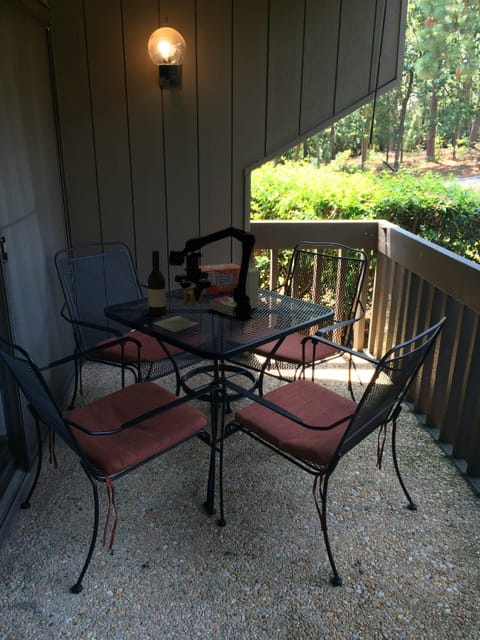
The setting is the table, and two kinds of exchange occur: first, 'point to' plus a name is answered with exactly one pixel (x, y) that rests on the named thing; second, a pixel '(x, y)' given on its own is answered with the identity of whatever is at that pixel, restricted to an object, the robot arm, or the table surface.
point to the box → (220, 278)
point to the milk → (252, 285)
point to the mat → (175, 323)
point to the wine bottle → (156, 288)
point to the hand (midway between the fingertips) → (192, 299)
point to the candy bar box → (224, 305)
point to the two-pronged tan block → (192, 296)
